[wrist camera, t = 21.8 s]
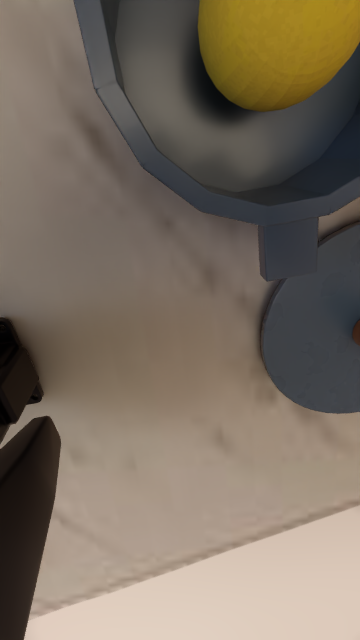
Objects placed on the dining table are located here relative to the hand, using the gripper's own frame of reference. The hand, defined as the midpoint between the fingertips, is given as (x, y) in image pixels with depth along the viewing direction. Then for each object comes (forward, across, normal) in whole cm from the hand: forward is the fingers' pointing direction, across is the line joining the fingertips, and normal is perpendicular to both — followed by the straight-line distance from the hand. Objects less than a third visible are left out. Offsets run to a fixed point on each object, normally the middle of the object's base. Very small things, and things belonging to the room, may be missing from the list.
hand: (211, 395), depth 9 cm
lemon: (+12, -5, -10) cm, 16 cm away
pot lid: (+11, -12, +6) cm, 18 cm away
